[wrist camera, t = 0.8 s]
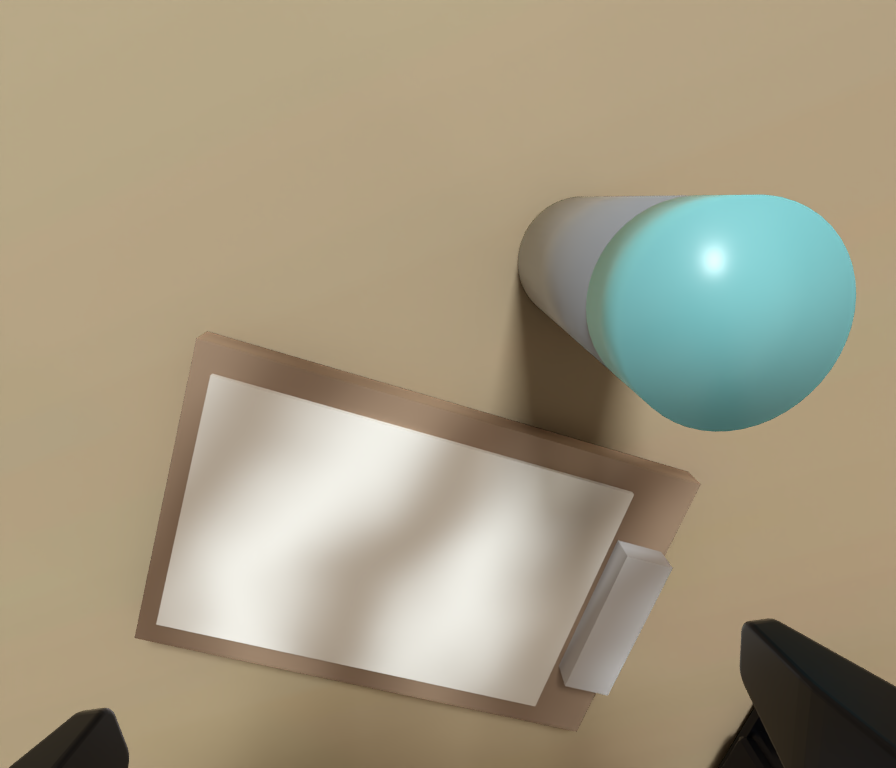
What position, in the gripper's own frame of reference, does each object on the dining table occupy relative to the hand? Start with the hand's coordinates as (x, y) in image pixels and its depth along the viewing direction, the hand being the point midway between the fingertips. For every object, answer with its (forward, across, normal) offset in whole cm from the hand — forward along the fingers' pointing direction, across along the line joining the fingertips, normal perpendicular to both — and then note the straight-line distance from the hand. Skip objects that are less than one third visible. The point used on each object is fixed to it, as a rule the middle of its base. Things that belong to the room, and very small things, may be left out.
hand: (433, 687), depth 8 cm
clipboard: (+13, +1, +6) cm, 14 cm away
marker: (+13, -6, -4) cm, 15 cm away
